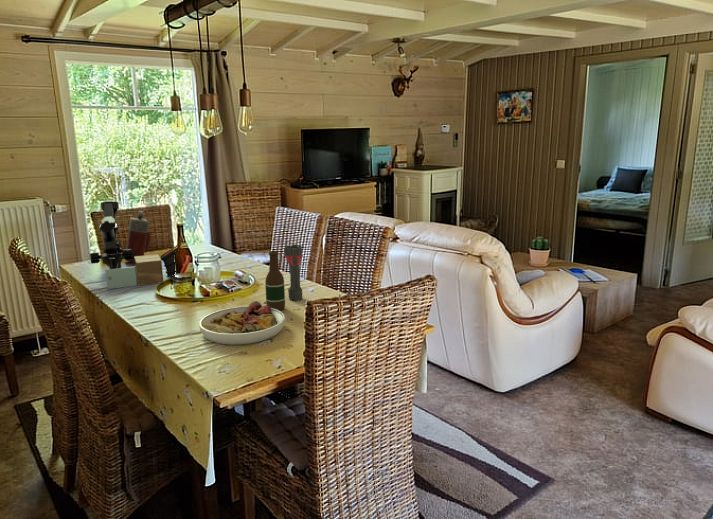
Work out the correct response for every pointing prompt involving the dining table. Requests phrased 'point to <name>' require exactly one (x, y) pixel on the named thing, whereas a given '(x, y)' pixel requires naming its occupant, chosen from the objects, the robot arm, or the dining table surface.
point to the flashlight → (294, 270)
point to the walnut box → (149, 269)
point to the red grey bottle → (138, 236)
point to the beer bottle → (275, 284)
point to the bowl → (242, 324)
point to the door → (121, 277)
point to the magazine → (169, 261)
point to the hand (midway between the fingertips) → (113, 271)
